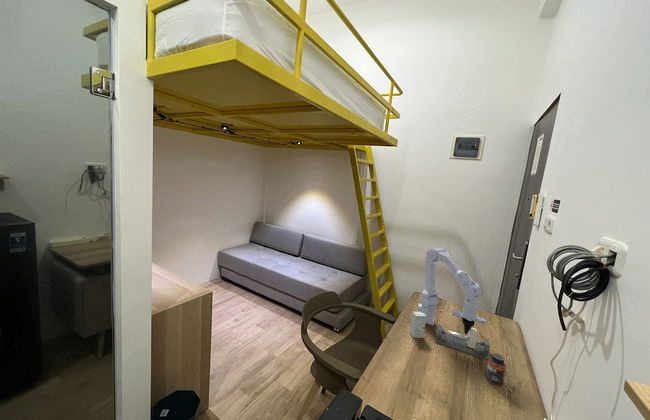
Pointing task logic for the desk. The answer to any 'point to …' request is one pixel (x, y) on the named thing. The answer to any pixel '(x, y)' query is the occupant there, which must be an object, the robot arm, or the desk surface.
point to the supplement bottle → (496, 370)
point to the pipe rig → (462, 343)
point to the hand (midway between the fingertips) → (465, 332)
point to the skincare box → (417, 324)
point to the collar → (472, 338)
